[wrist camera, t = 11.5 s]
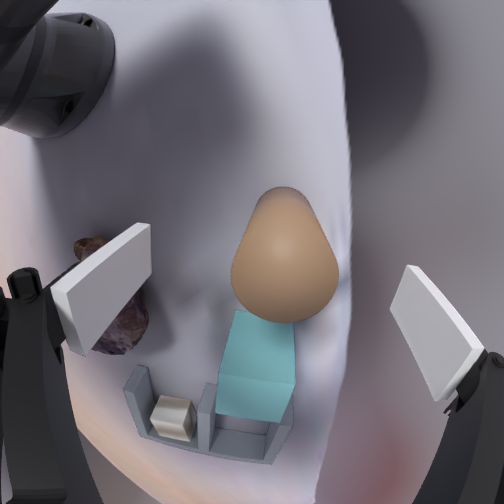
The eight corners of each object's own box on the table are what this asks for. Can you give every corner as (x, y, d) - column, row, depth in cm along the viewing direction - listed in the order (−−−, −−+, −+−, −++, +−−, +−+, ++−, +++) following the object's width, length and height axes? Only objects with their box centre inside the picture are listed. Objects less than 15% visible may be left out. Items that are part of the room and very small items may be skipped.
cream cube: (160, 394, 35) (149, 418, 31) (191, 399, 35) (182, 425, 30) (168, 412, 37) (159, 435, 33) (197, 417, 37) (190, 441, 32)
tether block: (253, 181, 23) (225, 215, 12) (322, 193, 22) (361, 239, 11) (230, 351, 30) (208, 438, 19) (281, 359, 30) (278, 449, 19)
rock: (105, 306, 31) (173, 323, 31) (71, 353, 24) (145, 381, 23) (82, 226, 25) (160, 236, 24) (31, 269, 18) (113, 292, 17)
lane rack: (137, 364, 33) (123, 389, 28) (292, 396, 32) (292, 426, 27) (149, 414, 38) (140, 436, 34) (273, 440, 37) (271, 464, 33)
